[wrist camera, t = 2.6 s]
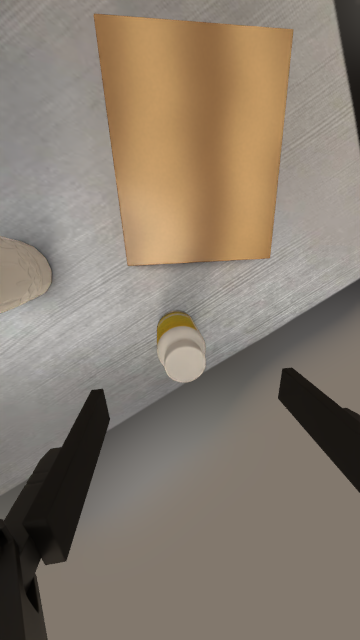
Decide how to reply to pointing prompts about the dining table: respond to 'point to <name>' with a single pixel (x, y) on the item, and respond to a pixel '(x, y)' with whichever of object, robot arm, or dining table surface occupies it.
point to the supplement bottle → (180, 347)
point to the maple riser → (194, 135)
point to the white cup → (21, 273)
